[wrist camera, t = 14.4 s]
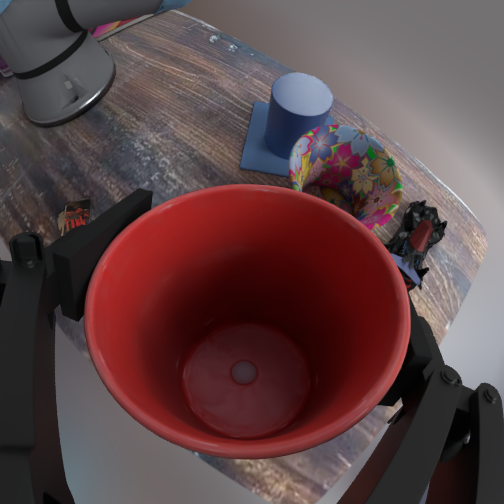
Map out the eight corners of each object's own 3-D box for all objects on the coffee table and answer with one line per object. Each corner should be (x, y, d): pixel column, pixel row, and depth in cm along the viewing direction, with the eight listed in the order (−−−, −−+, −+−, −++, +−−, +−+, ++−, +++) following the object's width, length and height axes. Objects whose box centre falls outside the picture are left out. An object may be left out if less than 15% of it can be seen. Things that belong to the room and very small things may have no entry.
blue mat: (254, 103, 37) (254, 101, 36) (332, 118, 37) (333, 116, 36) (239, 168, 34) (239, 167, 34) (329, 186, 34) (329, 184, 34)
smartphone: (83, 26, 40) (156, -7, 43) (85, 30, 41) (156, -3, 44) (93, 40, 39) (171, 5, 42) (94, 44, 40) (172, 9, 43)
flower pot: (196, 282, 22) (174, 161, 14) (354, 329, 19) (413, 217, 12) (123, 422, 15) (26, 356, 8) (311, 491, 13) (384, 499, 6)
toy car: (363, 265, 32) (379, 256, 28) (413, 192, 35) (429, 177, 31) (403, 302, 31) (423, 296, 27) (447, 225, 34) (466, 213, 30)
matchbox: (90, 195, 32) (88, 193, 32) (97, 235, 31) (95, 234, 31) (56, 210, 32) (54, 208, 31) (62, 250, 31) (60, 249, 30)
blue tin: (268, 115, 36) (275, 68, 28) (317, 124, 36) (333, 80, 28) (260, 155, 34) (267, 108, 27) (313, 165, 34) (332, 122, 27)
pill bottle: (30, 57, 39) (11, 23, 30) (13, 77, 38) (-9, 44, 29) (15, 58, 40) (-4, 27, 30) (-1, 78, 38) (-23, 46, 29)
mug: (316, 167, 35) (343, 107, 24) (373, 228, 33) (422, 185, 23) (233, 231, 32) (233, 182, 22) (295, 301, 31) (324, 283, 20)
